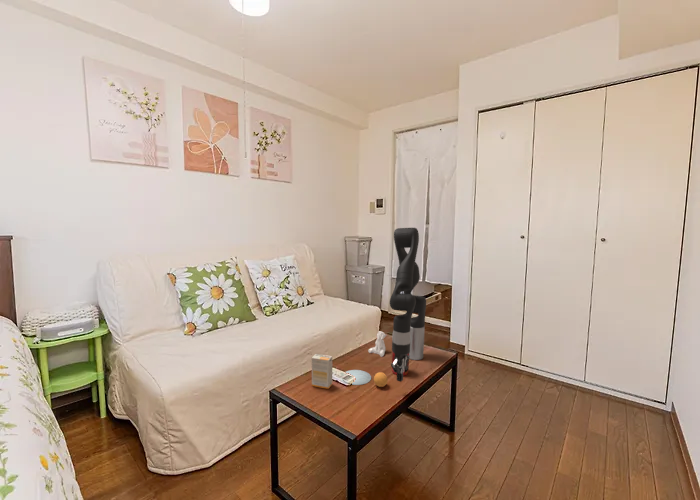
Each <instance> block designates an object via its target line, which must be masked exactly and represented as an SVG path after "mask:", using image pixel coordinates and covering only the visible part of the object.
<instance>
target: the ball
mask: <svg viewBox="0 0 700 500" xmlns="http://www.w3.org/2000/svg"><path fill="white" fill-rule="evenodd" d="M373 382H374V384H375V386H377V387H380V388H383V387H385V386H386V385H387V383H388V376H387V375H386V374H385V373H384V372H377V373H375V375H374V377H373Z"/></svg>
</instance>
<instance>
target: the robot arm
mask: <svg viewBox="0 0 700 500" xmlns="http://www.w3.org/2000/svg"><path fill="white" fill-rule="evenodd" d="M393 242H394V246H395V250H396V254H397V257H398V258H397V259H398V265H399V266H398V267H397V271H396V277H395V285H394V288H393V292H392V293H391V295H390V299H389V306H390V308H391V309H392V310H393V311H403V312H405V313H403V314H399V315H395V316H394V317H393V325H392V327H393V328H392V329H393V330H392V337H391V340H392V341H391V351H393V352H394V354H395V357H394V360H395V361H394V363H392V362H391V363H390V366H391V369H392V368H393V371H394V372H396V373H397V375H396V382H400V383H401V382H402V381H403V380H404V376H403V372H404V369H406V367H407V364H408V360H409V361H410V360H413V361H414V360H415V361H418V360H419V361H420V360H422V359H424V350H425V349H424V348H425V346H424V345H425V326H426V325H425V322H426V310H427V298H426V297H425V296H421V295H416V294H415V295H414V294H412V292H413V290H414V288H415V287H416V286H417V285H418V283H419V281H420V278H421V275H420V269H419V264H417V262H416V259H417V254H418V248H419V242H420V235H419V230H418V228H416V227H399V228H395V229H394V231H393ZM406 249H409V251H408V253H407V251H406ZM402 292H403V293H402ZM413 314H417V316H414V317H412V316H413ZM407 354H409V355H407Z"/></svg>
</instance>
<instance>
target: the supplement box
mask: <svg viewBox="0 0 700 500" xmlns="http://www.w3.org/2000/svg"><path fill="white" fill-rule="evenodd" d="M332 386H333V356H332V355H326V354H319V353H315V354H314V355H313V356H312V357H311V387H316V388H322V389H326V390H329V389H330V387H332Z"/></svg>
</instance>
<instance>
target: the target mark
mask: <svg viewBox="0 0 700 500" xmlns="http://www.w3.org/2000/svg"><path fill="white" fill-rule="evenodd" d="M345 372H346V373H349V374H351V375H353V376H355V378H356V380H355V382H353V383H352V385H354V386H362V385H366V384H368V383H369V382H371V380H372V375H371V374H370V373H369V372H367V371H364V370H362V369H361V370H360V369H349V370H346V371H345Z"/></svg>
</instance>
